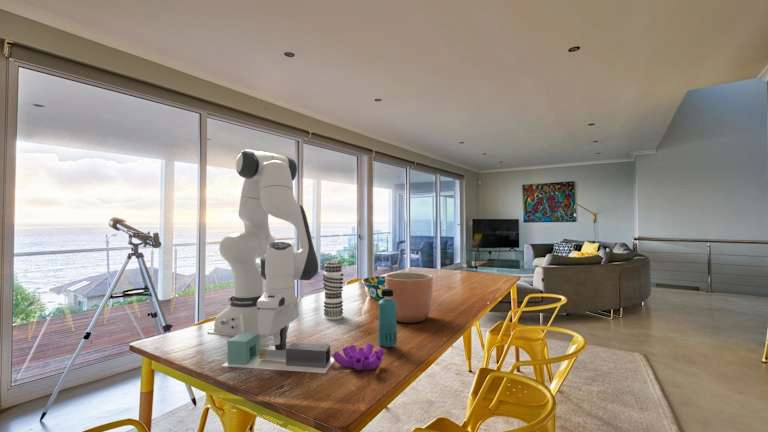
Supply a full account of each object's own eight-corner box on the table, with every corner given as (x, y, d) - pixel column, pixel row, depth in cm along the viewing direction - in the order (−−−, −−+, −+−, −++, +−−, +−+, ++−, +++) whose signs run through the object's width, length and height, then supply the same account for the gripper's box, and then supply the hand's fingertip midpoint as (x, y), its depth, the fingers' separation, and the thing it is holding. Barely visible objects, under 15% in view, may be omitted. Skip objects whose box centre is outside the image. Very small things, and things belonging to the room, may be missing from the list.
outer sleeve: (286, 365, 106) (286, 348, 106) (293, 358, 111) (293, 342, 111) (325, 368, 104) (324, 350, 104) (330, 361, 109) (330, 344, 109)
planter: (440, 317, 160) (440, 274, 160) (419, 329, 142) (419, 281, 142) (400, 310, 171) (400, 270, 171) (376, 321, 153) (375, 277, 153)
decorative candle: (333, 312, 168) (332, 259, 168) (348, 316, 162) (347, 260, 162) (318, 317, 160) (318, 261, 160) (333, 320, 155) (333, 263, 155)
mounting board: (221, 369, 106) (221, 365, 106) (242, 354, 117) (242, 351, 117) (324, 376, 101) (324, 372, 101) (336, 360, 112) (336, 357, 112)
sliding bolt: (259, 359, 109) (259, 329, 109) (264, 355, 112) (264, 326, 112) (322, 363, 105) (322, 332, 105) (325, 359, 108) (325, 329, 108)
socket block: (227, 363, 108) (227, 340, 108) (242, 353, 115) (242, 332, 115) (245, 365, 107) (245, 341, 107) (259, 354, 114) (259, 332, 114)
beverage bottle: (383, 352, 118) (383, 292, 118) (374, 346, 124) (374, 288, 124) (400, 349, 121) (400, 290, 121) (391, 343, 127) (390, 286, 127)
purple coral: (349, 371, 112) (362, 342, 116) (384, 386, 102) (397, 353, 106) (326, 357, 105) (341, 327, 110) (361, 372, 95) (376, 338, 100)
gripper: (285, 288, 120) (285, 330, 120) (253, 303, 100) (253, 353, 100) (303, 289, 119) (303, 331, 119) (274, 304, 99) (274, 354, 99)
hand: (280, 341), depth 109 cm, fingers closed on sliding bolt, 2 cm apart
